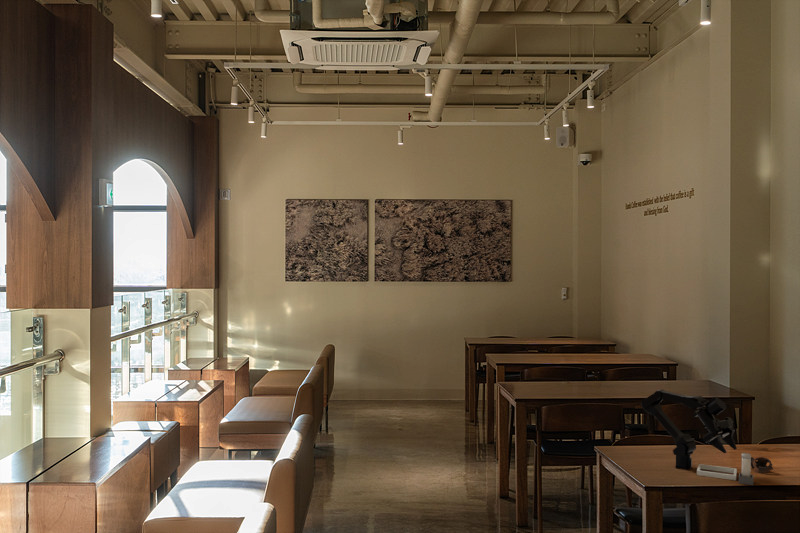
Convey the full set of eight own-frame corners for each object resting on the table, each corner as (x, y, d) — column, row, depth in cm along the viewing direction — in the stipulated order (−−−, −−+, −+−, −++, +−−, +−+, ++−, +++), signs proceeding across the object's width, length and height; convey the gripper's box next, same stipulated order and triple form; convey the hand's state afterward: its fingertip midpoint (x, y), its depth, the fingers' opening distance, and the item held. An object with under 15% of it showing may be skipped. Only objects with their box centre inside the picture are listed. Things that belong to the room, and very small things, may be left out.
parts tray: (696, 477, 308) (696, 470, 308) (698, 470, 319) (698, 463, 319) (735, 482, 300) (736, 475, 300) (736, 475, 311) (736, 468, 311)
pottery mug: (776, 473, 315) (777, 460, 311) (766, 485, 311) (766, 472, 307) (751, 461, 324) (751, 448, 320) (740, 472, 320) (740, 460, 316)
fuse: (741, 482, 297) (741, 454, 297) (741, 480, 300) (741, 452, 300) (750, 484, 295) (751, 455, 295) (750, 481, 298) (751, 453, 298)
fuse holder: (738, 485, 296) (738, 476, 296) (738, 481, 302) (739, 472, 301) (753, 487, 294) (753, 478, 294) (753, 483, 299) (753, 474, 299)
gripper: (711, 414, 302) (734, 445, 294) (732, 408, 313) (754, 439, 305) (693, 426, 308) (714, 457, 300) (714, 421, 320) (735, 450, 312)
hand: (730, 451), depth 304 cm, fingers open, 9 cm apart
